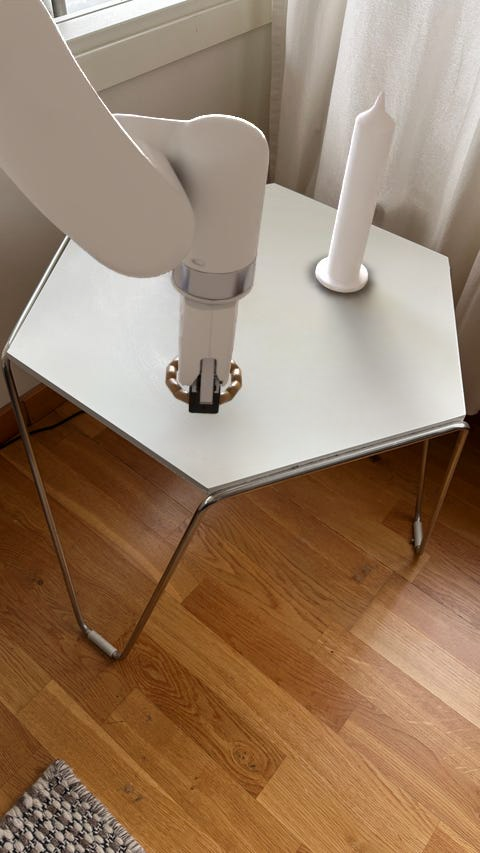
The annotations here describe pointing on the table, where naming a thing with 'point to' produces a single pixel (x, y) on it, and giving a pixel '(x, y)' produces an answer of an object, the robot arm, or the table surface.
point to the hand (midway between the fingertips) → (203, 402)
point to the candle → (358, 200)
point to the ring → (184, 395)
